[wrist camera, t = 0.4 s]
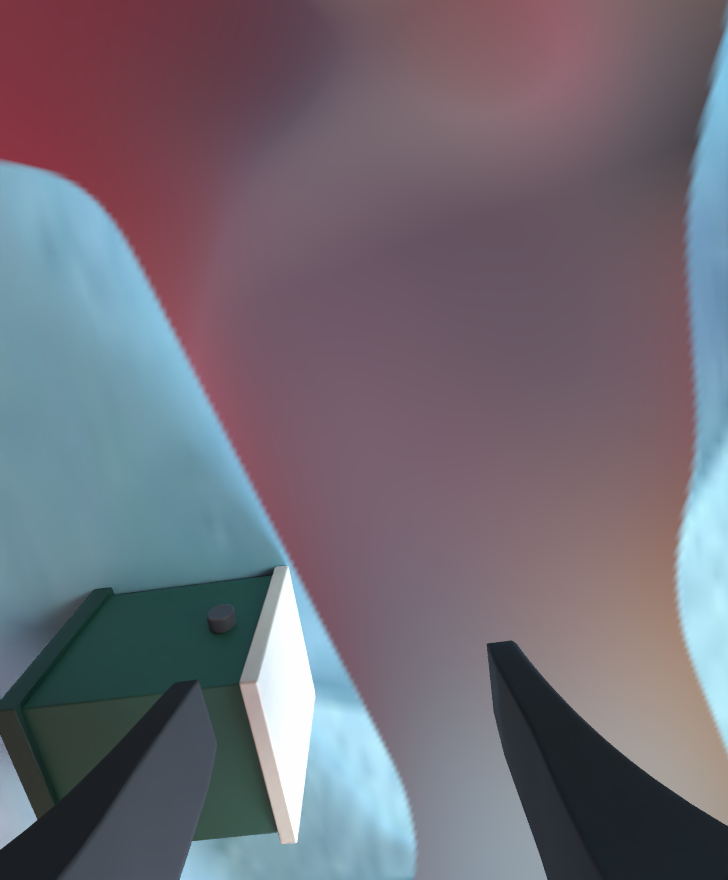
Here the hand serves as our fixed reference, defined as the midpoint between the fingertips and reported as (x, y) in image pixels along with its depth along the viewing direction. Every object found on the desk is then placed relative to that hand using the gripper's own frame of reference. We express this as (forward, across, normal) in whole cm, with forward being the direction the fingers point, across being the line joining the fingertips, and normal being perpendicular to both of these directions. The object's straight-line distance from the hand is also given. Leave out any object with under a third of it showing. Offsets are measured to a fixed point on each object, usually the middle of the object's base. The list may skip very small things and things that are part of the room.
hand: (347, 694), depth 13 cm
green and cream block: (+10, +7, +5) cm, 13 cm away
